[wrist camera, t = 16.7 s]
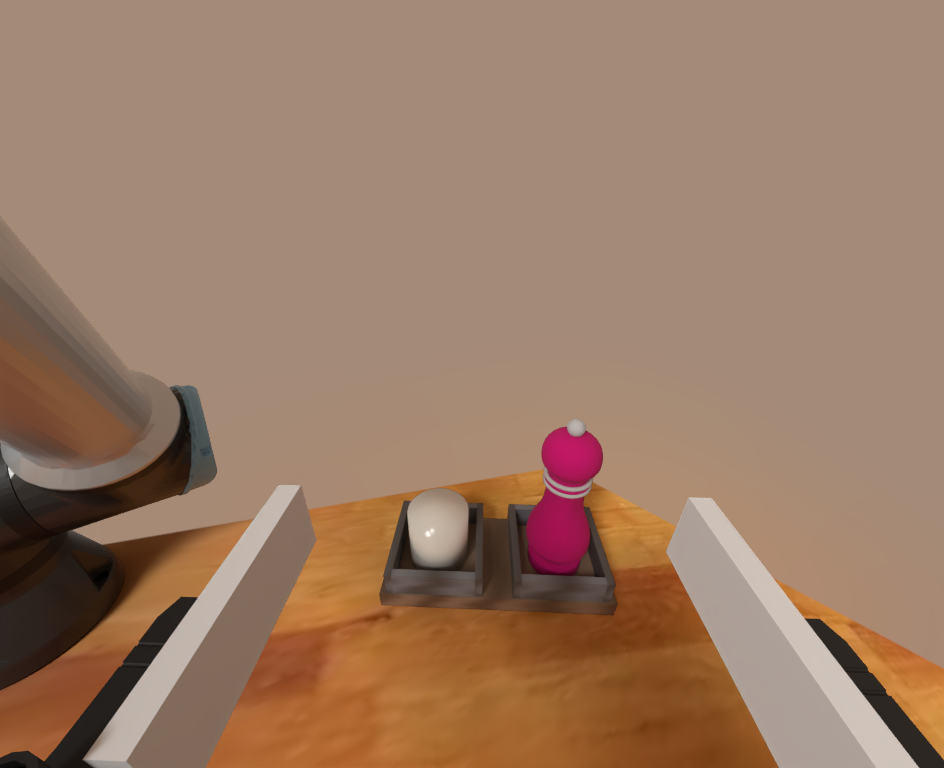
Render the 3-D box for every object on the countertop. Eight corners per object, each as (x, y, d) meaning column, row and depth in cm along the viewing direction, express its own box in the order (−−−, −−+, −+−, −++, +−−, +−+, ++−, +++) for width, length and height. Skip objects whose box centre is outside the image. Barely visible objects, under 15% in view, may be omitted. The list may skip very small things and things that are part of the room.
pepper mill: (550, 523, 47) (572, 394, 38) (595, 563, 42) (633, 425, 33) (511, 551, 44) (524, 415, 34) (555, 598, 38) (584, 453, 29)
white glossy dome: (405, 575, 40) (400, 532, 37) (417, 527, 47) (414, 486, 44) (465, 580, 40) (465, 537, 37) (470, 530, 46) (470, 490, 43)
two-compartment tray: (381, 605, 40) (376, 576, 37) (402, 525, 49) (399, 499, 47) (613, 615, 39) (623, 587, 37) (587, 532, 49) (594, 506, 46)
